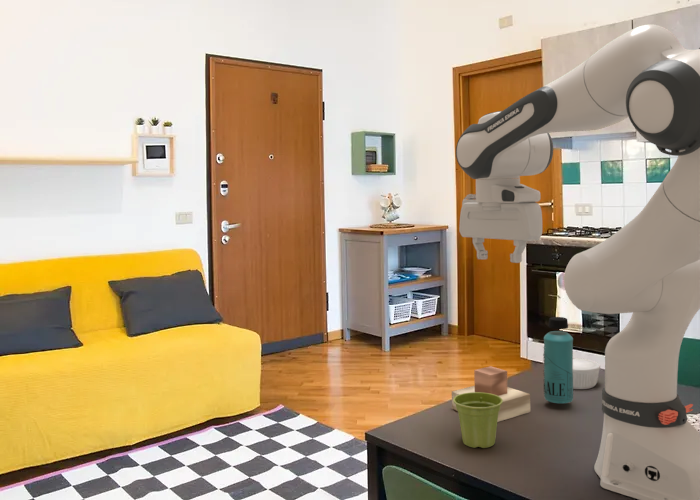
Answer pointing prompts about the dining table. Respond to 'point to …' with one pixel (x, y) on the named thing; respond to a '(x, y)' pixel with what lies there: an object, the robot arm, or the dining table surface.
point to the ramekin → (585, 373)
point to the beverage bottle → (558, 363)
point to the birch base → (504, 402)
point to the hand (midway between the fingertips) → (498, 260)
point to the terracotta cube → (491, 380)
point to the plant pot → (478, 417)
